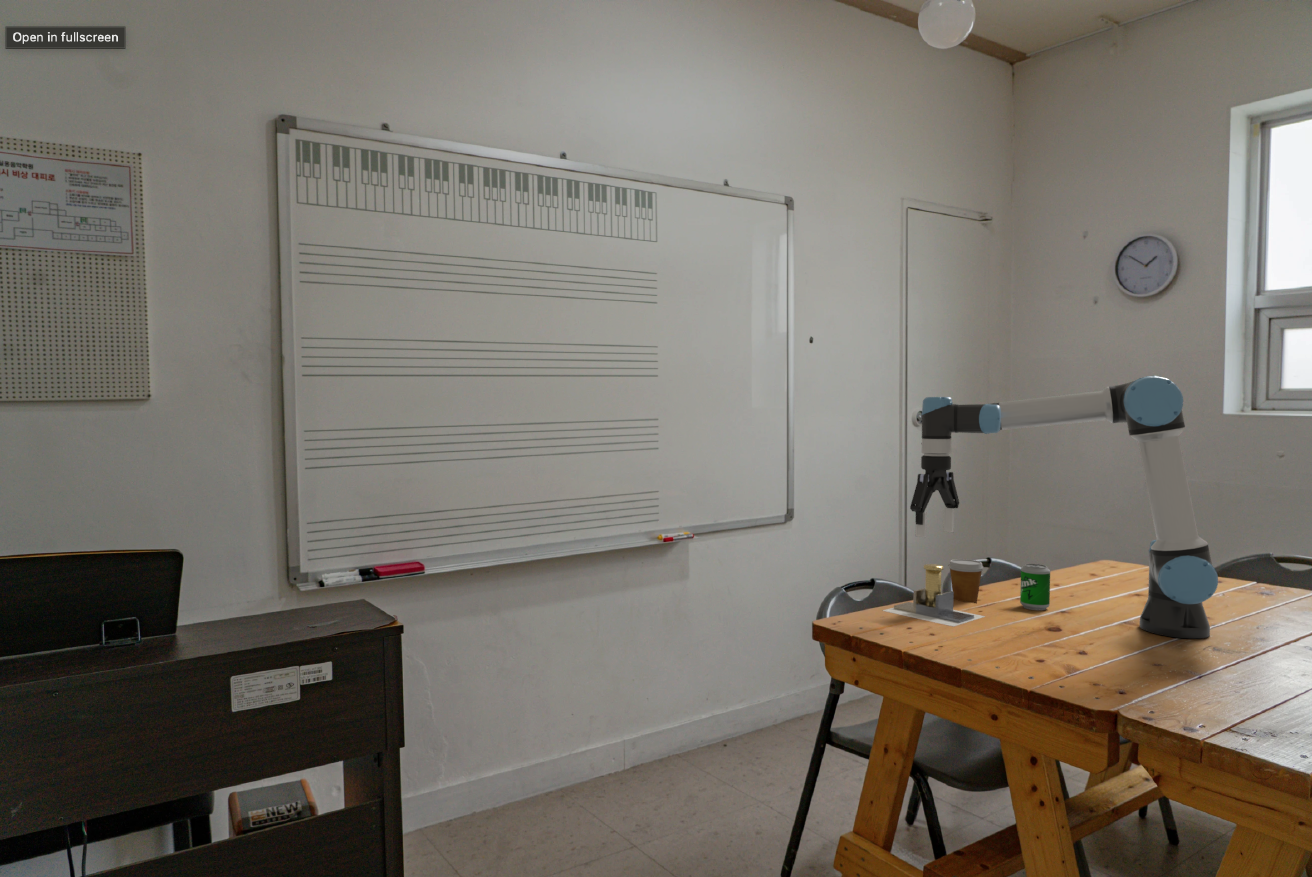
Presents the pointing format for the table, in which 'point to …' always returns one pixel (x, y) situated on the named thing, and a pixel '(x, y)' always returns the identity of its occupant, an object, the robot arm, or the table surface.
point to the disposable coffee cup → (965, 579)
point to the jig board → (931, 619)
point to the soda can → (1035, 587)
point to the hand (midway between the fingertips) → (934, 534)
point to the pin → (932, 583)
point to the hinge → (940, 611)
